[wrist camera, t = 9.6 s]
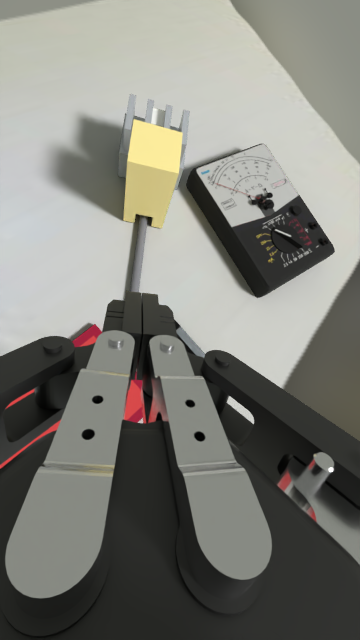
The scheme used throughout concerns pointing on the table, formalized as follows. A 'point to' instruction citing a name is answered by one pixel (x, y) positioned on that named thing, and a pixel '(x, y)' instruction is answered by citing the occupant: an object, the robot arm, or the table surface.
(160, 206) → the yellow block
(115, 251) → the table surface
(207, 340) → the table surface
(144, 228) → the rod
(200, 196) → the multimeter
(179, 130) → the rack
